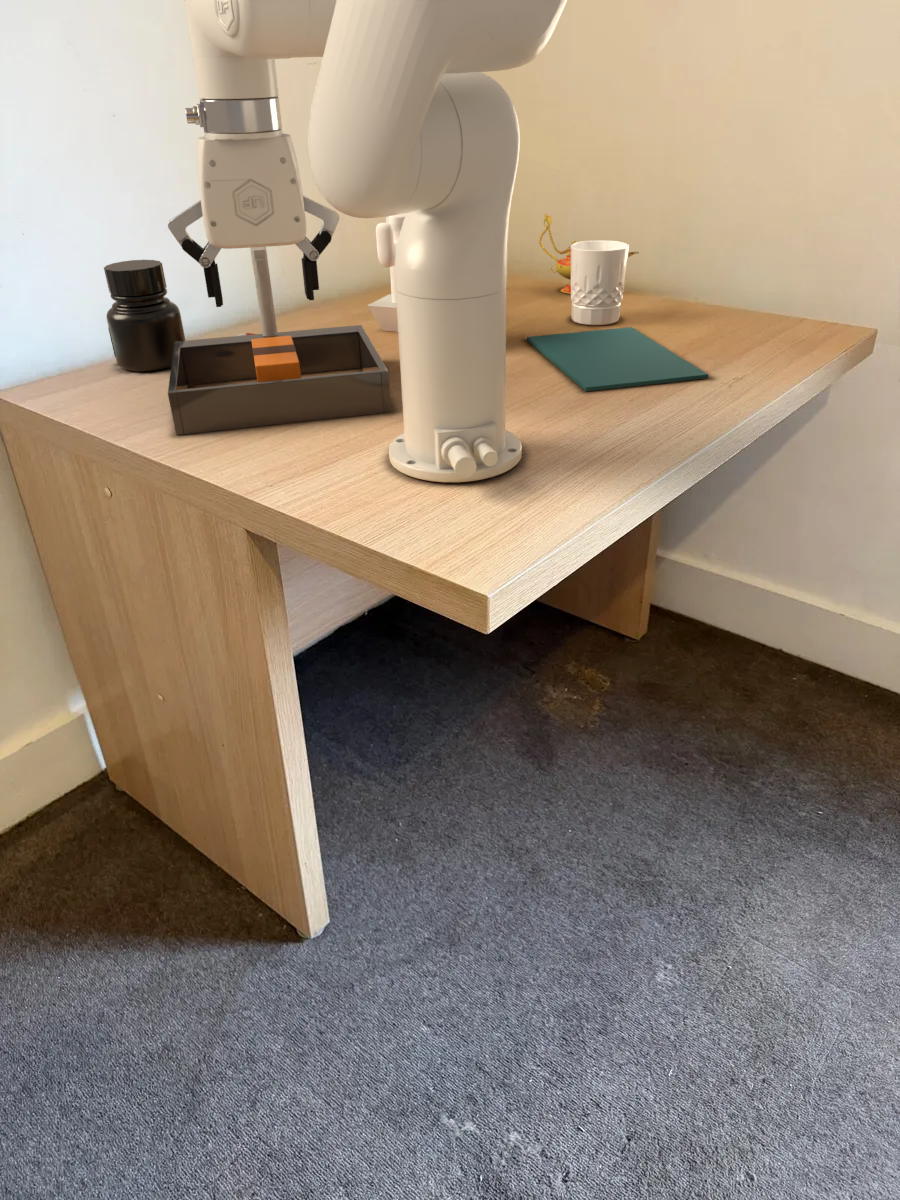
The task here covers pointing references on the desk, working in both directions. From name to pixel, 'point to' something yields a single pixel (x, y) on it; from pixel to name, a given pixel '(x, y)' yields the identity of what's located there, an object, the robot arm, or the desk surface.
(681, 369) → the mat
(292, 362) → the orange striped block
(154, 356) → the ink bottle
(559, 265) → the magic lamp
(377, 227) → the figurine
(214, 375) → the sink basin
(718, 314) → the desk surface
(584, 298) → the white cup
